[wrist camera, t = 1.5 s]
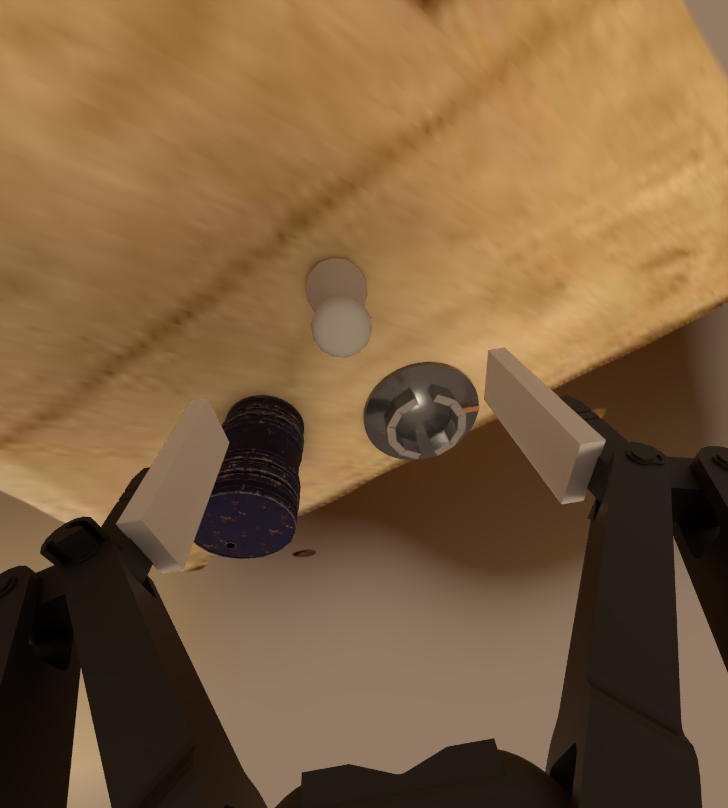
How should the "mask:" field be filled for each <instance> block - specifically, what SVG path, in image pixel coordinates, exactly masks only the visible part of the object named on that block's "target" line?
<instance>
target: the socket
mask: <svg viewBox="0 0 728 808" xmlns="http://www.w3.org/2000/svg"><path fill="white" fill-rule="evenodd" d="M478 411H479V401H478V395H477V392H476V390H475V388H474V386H473V384H472V383H471V382H470V380H469V379H468V378H467V377H466V376H465V375H464V374H463V373H462V372H461V371H459V370H457V369H456V368H454V367H451V366H449V365H445V364H442V363H434V362H425V363H417V364H413V365H409V366H406V367H403V368H401V369H399V370H397V371H395V372H393V373H392V374H390V375H388V376H387V377H386V378H385V379H383V380H382V381H381V382H380V383H379V384H378V385H377V386H376V387H375V389H374V390H373V391H372V393H371V394H370V396H369V398H368V400H367V403H366V406H365V410H364V424H365V429H366V433H367V435H368V437H369V439H370V441H371V442H372V443H373V444H374V446H375V447H376V448H378V449H379V450H380V451H382V452H383V453H385V454H387V455H389V456H392V457H395V458H400V459H407V460H417V459H424V458H429V457H432V456H436V455H440V454H441V453H443V452H445V451H447V450H449V449H450V448H452V447H453V446H455V445H456V444H457V443H459V442H460V441H461V440H462V439H463V438H464V437H465V436H466V435H467V433H468V432H469V431H470V429H471V428H472V426H473V424H474V422H475V420H476V417H477V414H478Z"/></svg>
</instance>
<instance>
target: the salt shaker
mask: <svg viewBox="0 0 728 808" xmlns="http://www.w3.org/2000/svg"><path fill="white" fill-rule="evenodd" d="M305 290H306V295H307V299H308V302H309V304H310V306H311V307H312V309H313V311H314V315H313V318H312V322H311V329H312V334H313V338H314V340H315V342H316V343H317V344H318V346H319V347H320V349H321V350H322V351H324V352H326V353H328V354H330V355H331V356H335V357H348V356H351V355H354V354H357V353H358V352H359V351H360V350H362V349H363V348H364V347H365V346H366V345H367V343H368V340H369V337H370V335H371V317H370V315H369V313H368V312H367V310H366V308H365V307H364V304H365V300H366V297H367V287H366V279H365V278H364V276H363V274H362V273H361V271H360V269H359V268H358V267H357V266H355V265H354V264H352V263H351V262H350V261H348V260H347V259H339V258H330V259H328V260H325V261H322V262H319V263H318V264H317V265H316V266H315V267H314V269H313V270H312V271H311V272H310V273H309V276H308V279H307V283H306V286H305Z"/></svg>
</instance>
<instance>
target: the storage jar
mask: <svg viewBox="0 0 728 808" xmlns="http://www.w3.org/2000/svg"><path fill="white" fill-rule="evenodd" d="M222 428H223V430H224V432H225V435H226V437H227V439H228V441H229V445H228V448H227V451H226V453H225V456H224V459H223V462H222V465H221V467H220V470H219V473H218V476H217V478H216V481H215V484H214V487H213V489H212V492H211V495H210V498H209V500H208V503H207V506H206V509H205V511H204V514H203V517H202V520H201V522H200V525H199V528H198V531H197V533H196V536H195V539H194V543H195V544H196V545H198V546H199V547H201V548H202V549H204V550H206V551H208V552H210V553H213V554H215V555H218V556H222V557H228V558H234V559H254V558H260V557H265V556H268V555H271V554H273V553H276V552H278V551H280V550H282V549H283V548H284V547H286V546H287V545H288V544H289V543H290V542H291V541H292V540H293V538H294V536H295V533H296V527H297V514H298V510H299V500H300V488H301V487H300V480H299V476H298V472H299V466H300V463H301V460H302V453H303V447H304V437H303V433H304V423H303V420H302V417H301V415H300V414H299V412H298V411H297V410H296V409H295V408H294V407H293V406H292V405H291V404H289V403H288V402H286V401H284V400H282V399H279V398H276V397H272V396H264V395H260V396H252V397H248V398H245V399H243V400H241V401H239V402H238V403H236V404H235V405H234V406H233V407H232V408H231V410H230V411H229V413H228V415H227V418H226V420H225V422H224V423H223V425H222Z"/></svg>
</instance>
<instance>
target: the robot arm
mask: <svg viewBox="0 0 728 808" xmlns="http://www.w3.org/2000/svg"><path fill="white" fill-rule="evenodd" d="M484 400H485V401H486V403H487V404H488V405H489V407H490V408H491V409H492V411H493V412H494V413H495V415H496V416H497V418H498V419H499V420H500V422H501V423H502V424H503V425H504V427H505V428H506V430H507V431H508V432H509V434H510V435H511V436H512V438H513V439H514V441H515V442H516V443H517V445H518V446H519V447H520V448H521V450H522V451H523V453H524V454H525V456H526V457H527V458H528V460H529V461H530V462H531V464H532V465H533V466H534V468H535V469H536V470H537V472H538V473H539V474H540V476H541V477H542V478H543V480H544V481H545V482H546V484H547V485H548V487H549V488H550V489H551V491H552V492H553V493H554V495H555V496H556V497H557V499H558V500H559V502H560V503H561V504H567V503H572V502H578V501H583V500H584V497H585V495H586V492H587V490H588V489H589V490H590V491H591V493H592V494H593V495H594V496H595V497H596V498H595V501H594V504H593V506H592V509H591V511H590V514H589V516H588V519H591V521H590V527H589V533H588V539H587V545H586V551H585V557H584V564H583V569H582V575H581V581H580V588H579V593H578V600H577V606H576V612H575V618H574V624H573V630H572V636H571V643H570V649H569V654H568V660H567V666H566V672H565V679H564V685H563V691H562V697H561V704H560V709H559V714H558V719H557V723H556V726H555V729H554V732H553V736H552V740H551V744H550V749H549V754H548V759H547V765H546V771H545V772H544V771H543V770H542V769H540V768H539V767H537V766H536V765H534V764H533V763H531V762H529V761H527V760H526V759H524V758H522V757H520V756H518V755H515V754H512V753H510V752H507V751H503V750H499V749H497V746H496V743H495V740H494V739H488V740H482V741H477V742H471V743H466V744H460V745H454V746H449V747H446V748H444V749H443V750H441V751H439V752H438V753H437V754H435V755H433V756H432V757H430V758H428V759H426V760H425V761H423V762H422V763H420V764H418V765H417V766H415V767H413V768H412V769H410V770H409V771H407V772H405V773H403V774H392V773H387V772H383V771H378V770H374V769H369V768H364V767H360V766H355V765H350V764H347V765H342V766H337V767H331V768H325V769H319V770H314V771H308V772H302V781H301V786H299V787H298V788H296V789H295V790H294V791H292V792H291V793H290V794H289V795H287V796H286V797H285V798H284V799H283V800H282V801H281V802H280V803H279V804H278V805H277V806H276V807H275V808H702V800H701V784H700V774H699V766H698V759H697V756H696V753H695V750H694V747H693V745H692V744H691V743H690V742H689V740H688V739H687V738H686V737H685V735H684V733H683V730H682V723H681V707H680V685H679V662H678V638H677V615H676V593H675V570H674V548H673V536H674V539H675V541H676V544H677V546H678V549H679V551H680V554H681V556H682V559H683V561H684V564H685V566H686V569H687V571H688V574H689V576H690V579H691V581H692V584H693V586H694V589H695V591H696V594H697V596H698V599H699V601H700V604H701V606H702V609H703V611H704V614H705V616H706V619H707V621H708V624H709V627H710V629H711V632H712V634H713V637H714V639H715V642H716V644H717V647H718V649H719V652H720V654H721V657H722V659H723V662H724V664H725V667H726V669H727V672H728V448H724V447H718V446H708V447H704V448H701V450H700V451H699V452H698V453H697V455H696V457H695V458H679V457H666V456H665V455H664V454H663V453H662V452H661V451H659V450H657V449H655V448H654V447H651V446H648V445H645V444H642V443H636V442H628V441H627V440H626V439H625V438H624V437H622V436H621V435H620V434H619V433H618V432H617V431H615V430H614V429H613V428H612V427H611V426H609V425H608V424H607V423H606V422H605V421H603V420H602V419H601V418H599V416H598V415H597V414H595V413H594V412H591V409H589V408H588V407H587V406H586V405H585V404H584V403H582V402H581V401H579V400H577V399H575V398H573V397H570V396H561V397H558V396H557V395H556V394H555V393H554V392H553V391H552V390H550V389H549V388H548V387H547V386H546V385H545V384H544V383H543V382H542V381H541V380H540V379H538V378H537V377H536V376H535V375H534V374H533V373H532V372H531V371H530V370H529V369H527V368H526V367H525V366H524V365H523V364H522V363H521V362H520V361H519V360H518V359H517V358H515V357H514V356H513V355H512V354H511V353H510V352H509V351H508V350H507V349H506V348H499V349H493V350H488V360H487V371H486V383H485V394H484ZM228 445H229V441H228V439H227V437H226V435H225V432H224V430H223V428H222V426H221V424H220V422H219V420H218V418H217V416H216V414H215V412H214V410H213V408H212V406H211V404H210V402H209V400H208V398H203V399H197V400H191V401H190V403H189V405H188V406H187V408H186V410H185V411H184V413H183V415H182V416H181V418H180V420H179V421H178V423H177V424H176V426H175V428H174V429H173V431H172V433H171V434H170V436H169V438H168V439H167V441H166V443H165V444H164V446H163V447H162V449H161V451H160V452H159V454H158V456H157V457H156V459H155V461H154V462H153V464H152V466H151V467H149V468H144V469H143V470H141V471H140V472H139V473H138V474H137V475H136V476H135V477H134V478H133V479H132V480H131V482H130V483H129V485H128V486H127V488H126V489H125V492H124V493H123V494H122V496H121V497H120V499H119V502H117V503H116V505H115V506H114V508H113V510H112V511H111V513H110V514H109V516H108V517H107V519H106V520H105V522H104V523H103V525H102V527H100V526H99V525H98V524H97V523H96V522H95V521H94V520H93V519H92V518H91V517H81V518H77V519H74V520H72V521H69V522H67V523H65V524H64V525H62V526H61V527H59V528H58V529H57V530H55V531H54V532H53V533H52V534H51V535H50V536H49V537H48V538H47V539H46V540H45V542H44V543H43V545H42V547H41V551H40V553H41V554H42V555H43V556H44V557H46V558H47V559H48V560H49V561H50V562H52V563H53V564H54V566H51V567H49V568H47V569H44V570H42V571H40V572H37V573H35V572H34V571H33V570H31V569H30V568H28V567H27V566H17V567H14V568H11V569H8V570H7V571H5V572H3V573H1V574H0V808H67V797H68V788H69V777H70V768H71V758H72V748H73V738H74V728H75V719H76V709H77V699H78V688H79V679H80V669H82V674H83V678H84V683H85V687H86V692H87V697H88V701H89V705H90V710H91V715H92V720H93V724H94V729H95V733H96V738H97V742H98V747H99V752H100V756H101V761H102V766H103V770H104V775H105V779H106V784H107V789H108V793H109V798H110V802H111V807H112V808H267V806H266V804H265V802H264V800H263V798H262V797H261V795H260V793H259V792H258V790H257V789H256V787H255V786H254V785H253V783H252V782H251V781H250V779H249V778H248V777H247V775H246V774H245V772H244V770H243V768H242V766H241V764H240V762H239V760H238V758H237V756H236V754H235V752H234V750H233V748H232V746H231V743H230V741H229V739H228V737H227V735H226V733H225V731H224V729H223V727H222V725H221V723H220V720H219V718H218V716H217V714H216V712H215V710H214V708H213V706H212V704H211V702H210V700H209V698H208V695H207V694H206V691H205V689H204V687H203V685H202V683H201V681H200V679H199V677H198V675H197V673H196V671H195V669H194V666H193V664H192V662H191V660H190V658H189V656H188V654H187V652H186V650H185V648H184V645H183V643H182V641H181V639H180V637H179V635H178V633H177V631H176V629H175V627H174V625H173V623H172V620H171V619H170V616H169V615H168V612H167V610H166V608H165V606H164V604H163V602H162V600H161V598H160V595H159V594H158V592H157V589H156V587H155V585H154V583H153V581H152V580H151V579H150V578H149V577H148V576H147V575H148V573H149V571H150V569H151V566H152V564H153V565H154V566H155V568H156V569H157V570H158V571H159V572H160V573H161V574H162V573H167V572H173V571H179V570H183V569H184V567H185V564H186V561H187V558H188V555H189V553H190V550H191V547H192V544H193V542H194V539H195V536H196V533H197V531H198V528H199V525H200V522H201V520H202V517H203V514H204V511H205V509H206V506H207V503H208V500H209V498H210V495H211V492H212V489H213V487H214V484H215V481H216V478H217V476H218V473H219V470H220V467H221V465H222V462H223V459H224V456H225V453H226V451H227V448H228Z"/></svg>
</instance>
